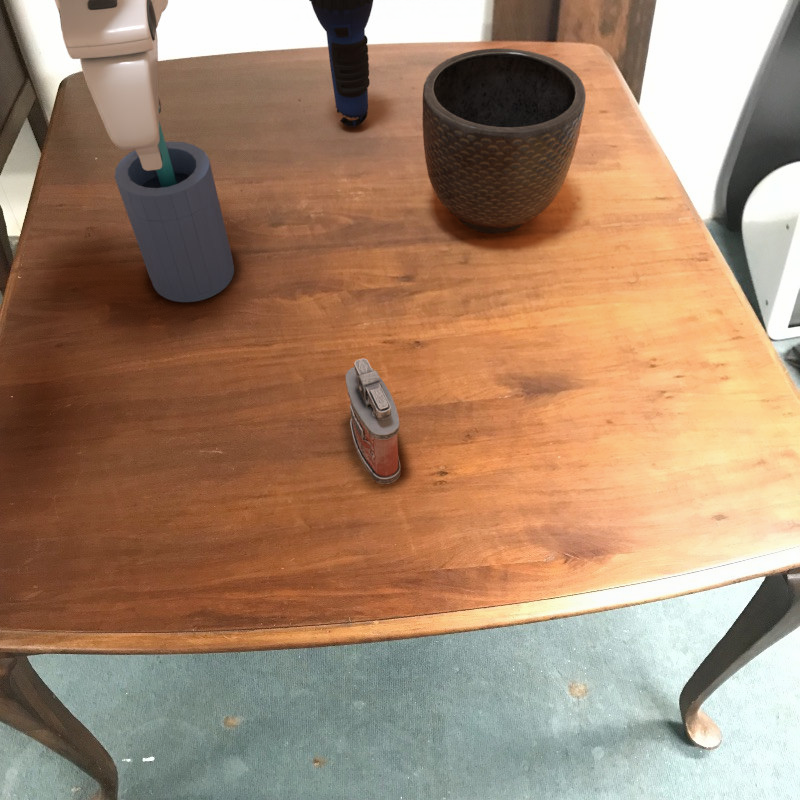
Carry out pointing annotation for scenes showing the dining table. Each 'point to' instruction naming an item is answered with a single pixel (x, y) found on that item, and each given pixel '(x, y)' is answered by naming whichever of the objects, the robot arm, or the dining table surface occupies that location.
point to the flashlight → (347, 54)
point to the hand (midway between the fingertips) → (153, 137)
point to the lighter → (373, 422)
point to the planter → (500, 134)
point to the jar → (178, 224)
